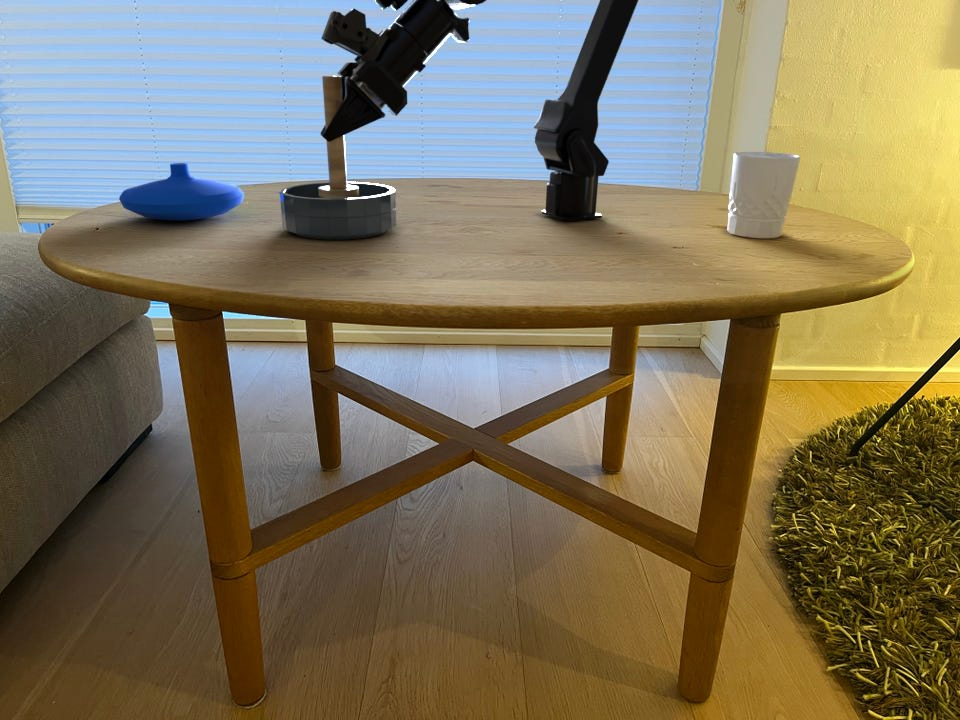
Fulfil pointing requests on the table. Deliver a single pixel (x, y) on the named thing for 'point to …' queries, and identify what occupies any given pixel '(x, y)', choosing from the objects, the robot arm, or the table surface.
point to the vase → (181, 197)
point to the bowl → (338, 212)
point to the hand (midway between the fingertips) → (324, 138)
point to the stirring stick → (335, 145)
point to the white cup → (760, 193)
